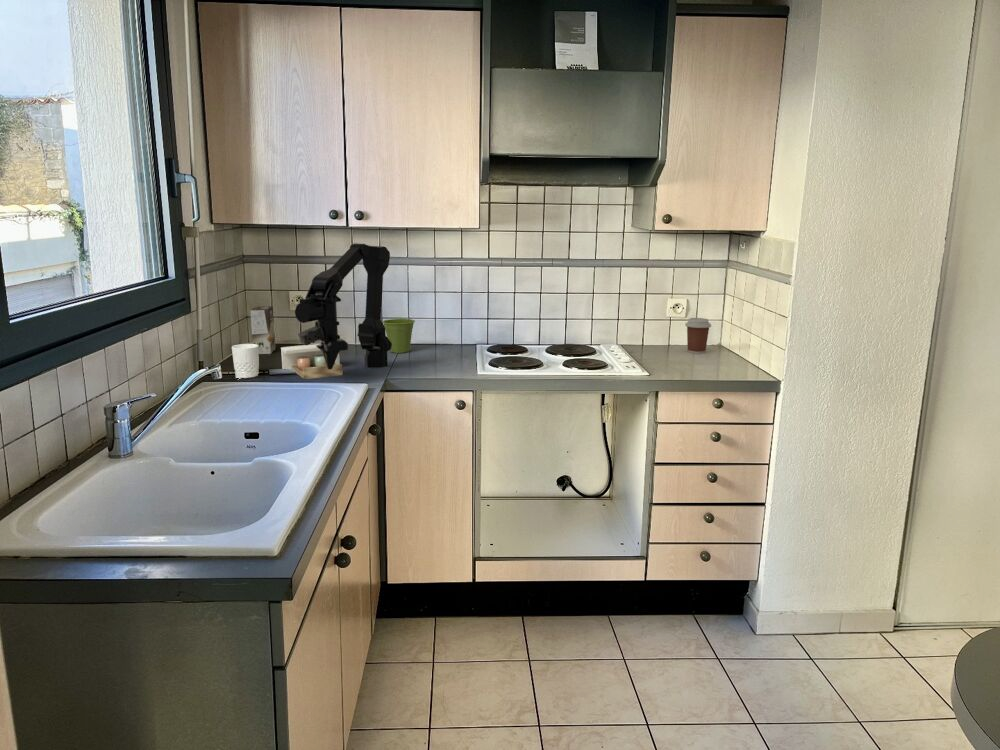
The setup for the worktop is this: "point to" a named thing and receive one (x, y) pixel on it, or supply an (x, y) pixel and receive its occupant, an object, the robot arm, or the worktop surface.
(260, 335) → the coffee box
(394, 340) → the plant pot
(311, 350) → the shelf
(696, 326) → the coffee cup
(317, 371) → the tray
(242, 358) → the white cup
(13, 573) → the worktop surface
